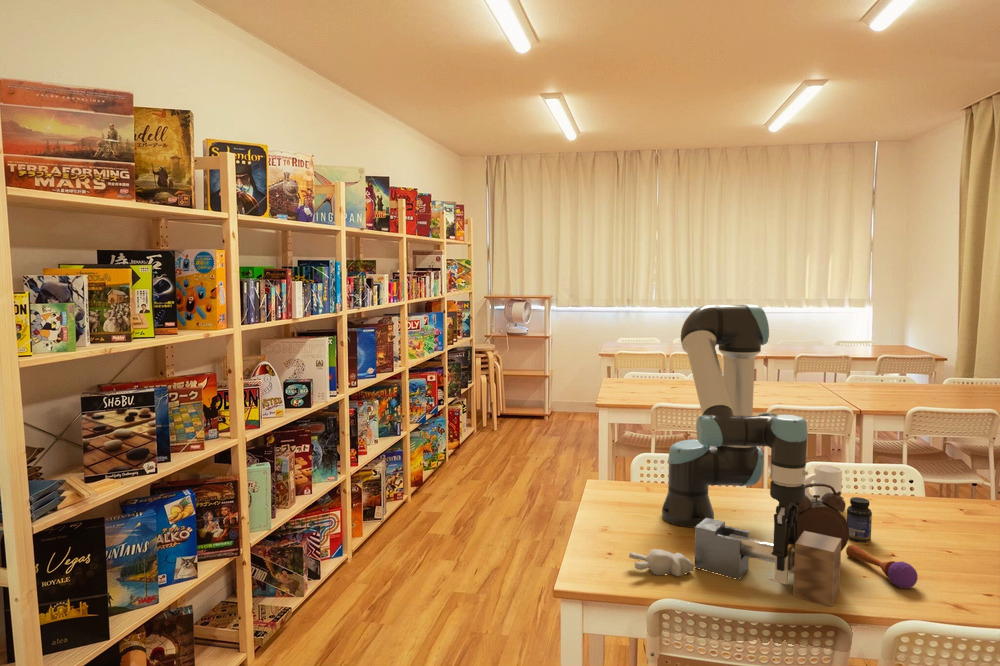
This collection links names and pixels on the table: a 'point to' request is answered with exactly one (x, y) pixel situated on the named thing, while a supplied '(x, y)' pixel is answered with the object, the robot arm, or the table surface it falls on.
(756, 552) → the tube
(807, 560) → the socket block
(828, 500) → the alarm clock
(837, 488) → the mug
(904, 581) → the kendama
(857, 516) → the pill bottle
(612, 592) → the table surface
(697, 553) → the square shaft housing
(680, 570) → the bunny figurine
